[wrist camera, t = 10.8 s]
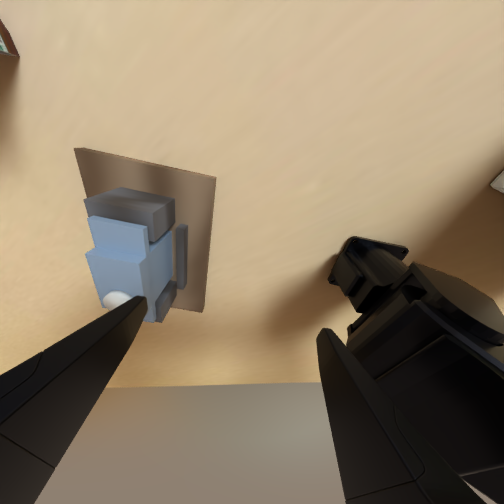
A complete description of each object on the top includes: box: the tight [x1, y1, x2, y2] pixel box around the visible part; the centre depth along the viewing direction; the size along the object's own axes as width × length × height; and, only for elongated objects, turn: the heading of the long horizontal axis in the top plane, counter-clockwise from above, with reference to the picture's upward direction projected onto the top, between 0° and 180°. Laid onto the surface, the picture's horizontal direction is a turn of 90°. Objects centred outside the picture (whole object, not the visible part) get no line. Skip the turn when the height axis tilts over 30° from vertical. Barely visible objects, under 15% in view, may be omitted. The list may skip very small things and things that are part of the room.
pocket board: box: [74, 148, 216, 323], centre depth 19 cm, size 12×18×5 cm, turn 168°
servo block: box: [85, 215, 173, 323], centre depth 18 cm, size 4×11×7 cm, turn 168°
